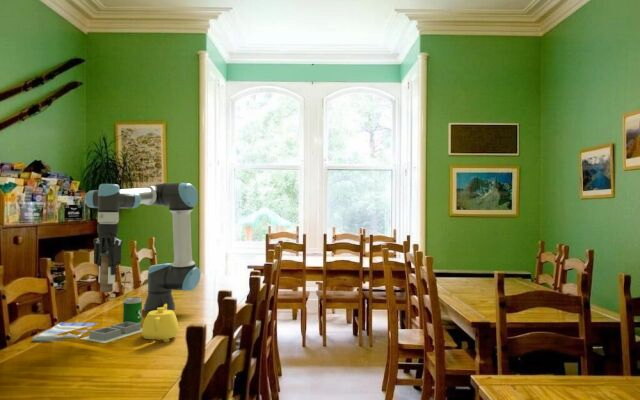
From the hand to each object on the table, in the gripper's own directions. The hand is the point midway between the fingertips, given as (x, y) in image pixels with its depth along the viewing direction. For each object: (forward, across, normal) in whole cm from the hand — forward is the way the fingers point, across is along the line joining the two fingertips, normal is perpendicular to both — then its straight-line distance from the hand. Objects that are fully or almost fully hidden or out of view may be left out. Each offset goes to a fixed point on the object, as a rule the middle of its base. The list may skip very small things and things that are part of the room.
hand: (106, 282), depth 178 cm
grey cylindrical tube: (+3, 0, 0) cm, 3 cm away
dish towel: (+23, -21, 0) cm, 31 cm away
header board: (+22, 0, +5) cm, 23 cm away
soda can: (+22, -8, +21) cm, 32 cm away
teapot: (+23, +18, +11) cm, 31 cm away
